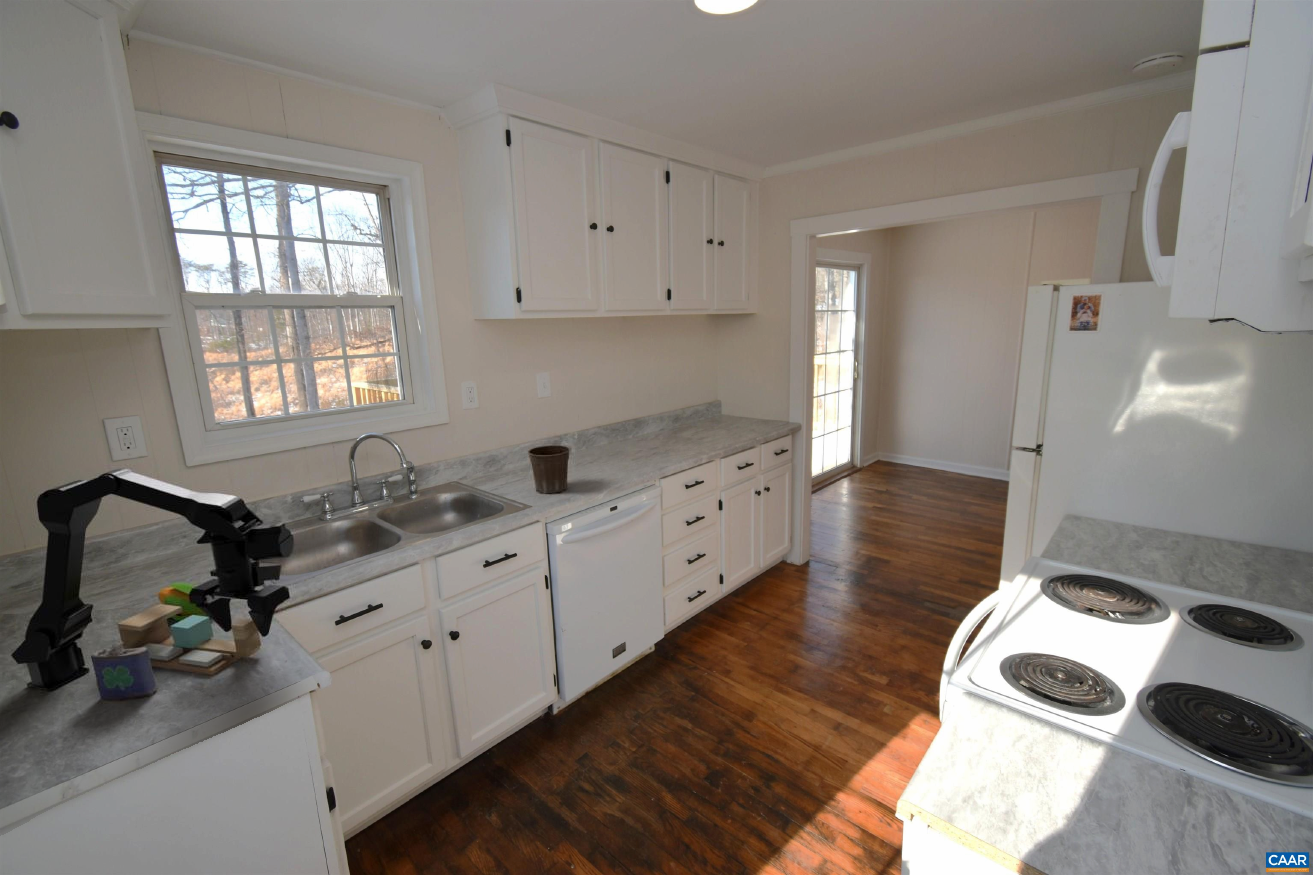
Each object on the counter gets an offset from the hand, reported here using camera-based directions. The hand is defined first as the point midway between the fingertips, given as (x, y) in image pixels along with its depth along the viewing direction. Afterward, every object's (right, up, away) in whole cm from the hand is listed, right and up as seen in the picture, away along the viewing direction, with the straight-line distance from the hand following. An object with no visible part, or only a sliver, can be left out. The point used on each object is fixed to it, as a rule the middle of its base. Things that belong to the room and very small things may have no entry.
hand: (246, 633), depth 115 cm
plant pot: (+41, +19, +110) cm, 119 cm away
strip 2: (-8, -4, +3) cm, 10 cm away
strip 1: (-14, -5, 0) cm, 15 cm away
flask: (-15, -8, -9) cm, 20 cm away
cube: (-14, -3, +4) cm, 15 cm away
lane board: (-14, -6, +2) cm, 15 cm away
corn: (-29, -3, +20) cm, 35 cm away
